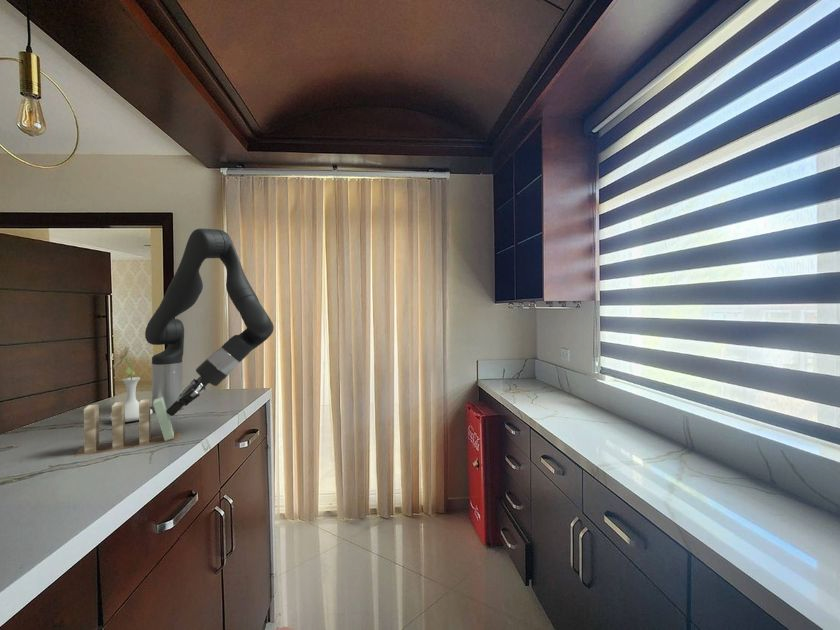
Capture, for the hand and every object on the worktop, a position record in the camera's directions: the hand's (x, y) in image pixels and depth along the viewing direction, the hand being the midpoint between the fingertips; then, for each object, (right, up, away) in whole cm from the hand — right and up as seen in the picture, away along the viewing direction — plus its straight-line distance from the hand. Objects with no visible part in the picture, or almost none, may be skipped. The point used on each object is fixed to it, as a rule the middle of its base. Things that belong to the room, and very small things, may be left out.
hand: (169, 413), depth 104 cm
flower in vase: (-26, -8, +20) cm, 33 cm away
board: (-7, -8, -4) cm, 11 cm away
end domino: (-14, -7, -9) cm, 18 cm away
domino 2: (-5, -7, -3) cm, 9 cm away
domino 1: (-9, -7, -6) cm, 13 cm away
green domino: (0, -7, 0) cm, 7 cm away
